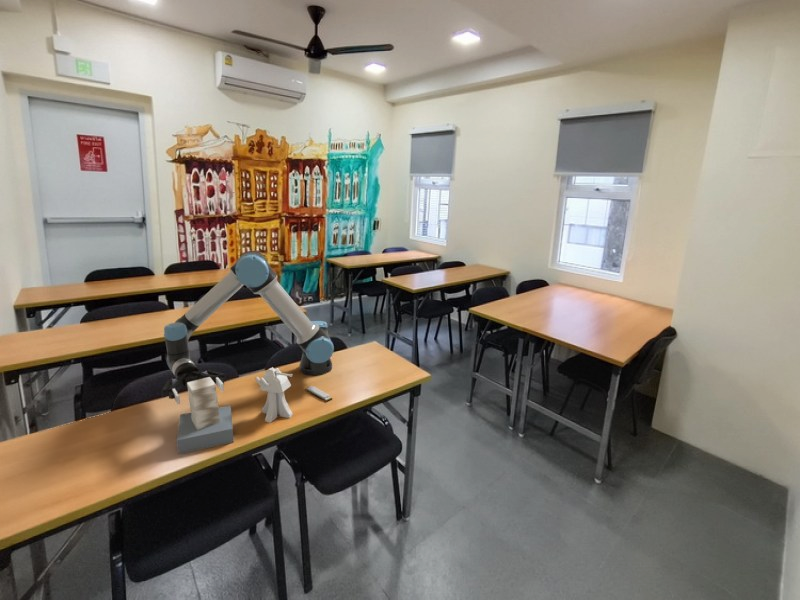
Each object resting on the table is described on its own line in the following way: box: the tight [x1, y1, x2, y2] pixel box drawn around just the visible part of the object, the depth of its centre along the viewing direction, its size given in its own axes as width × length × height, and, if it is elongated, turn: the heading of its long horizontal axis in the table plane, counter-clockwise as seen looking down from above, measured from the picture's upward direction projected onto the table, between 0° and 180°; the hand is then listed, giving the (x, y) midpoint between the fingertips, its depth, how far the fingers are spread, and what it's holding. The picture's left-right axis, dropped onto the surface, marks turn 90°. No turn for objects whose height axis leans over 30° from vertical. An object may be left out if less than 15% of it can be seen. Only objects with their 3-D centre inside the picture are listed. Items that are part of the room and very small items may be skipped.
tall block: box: [186, 377, 220, 430], centre depth 130 cm, size 7×7×14 cm
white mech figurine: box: [254, 366, 294, 423], centre depth 144 cm, size 12×13×18 cm
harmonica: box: [304, 385, 333, 403], centre depth 161 cm, size 15×3×2 cm, turn 48°
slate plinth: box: [176, 405, 235, 455], centre depth 132 cm, size 16×16×5 cm
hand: (201, 393), depth 129 cm, fingers open, 13 cm apart
